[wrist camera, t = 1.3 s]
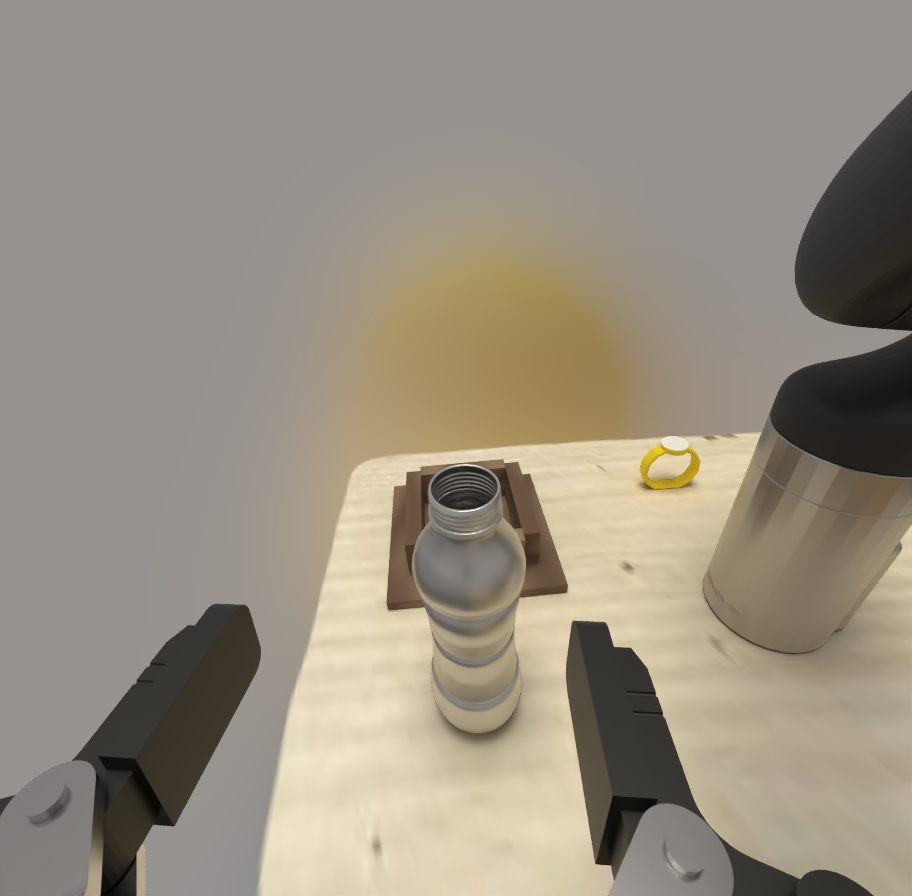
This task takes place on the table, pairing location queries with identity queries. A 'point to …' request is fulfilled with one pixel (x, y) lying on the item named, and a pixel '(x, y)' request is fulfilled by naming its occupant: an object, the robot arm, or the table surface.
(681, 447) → the watch
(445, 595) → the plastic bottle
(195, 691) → the robot arm
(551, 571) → the bottle rack
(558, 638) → the table surface
